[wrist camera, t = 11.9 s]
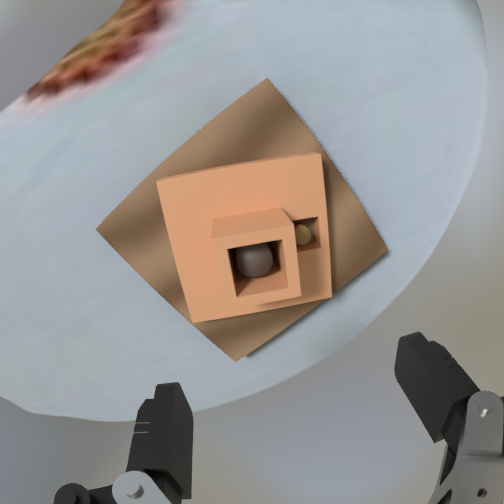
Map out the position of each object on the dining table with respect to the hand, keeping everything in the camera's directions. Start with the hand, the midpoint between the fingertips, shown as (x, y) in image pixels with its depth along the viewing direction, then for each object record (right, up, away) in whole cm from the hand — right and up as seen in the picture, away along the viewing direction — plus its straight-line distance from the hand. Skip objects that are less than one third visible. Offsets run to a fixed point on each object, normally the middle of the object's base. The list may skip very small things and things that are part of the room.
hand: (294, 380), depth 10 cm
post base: (-2, +6, +17) cm, 18 cm away
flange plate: (-2, +6, +15) cm, 16 cm away
